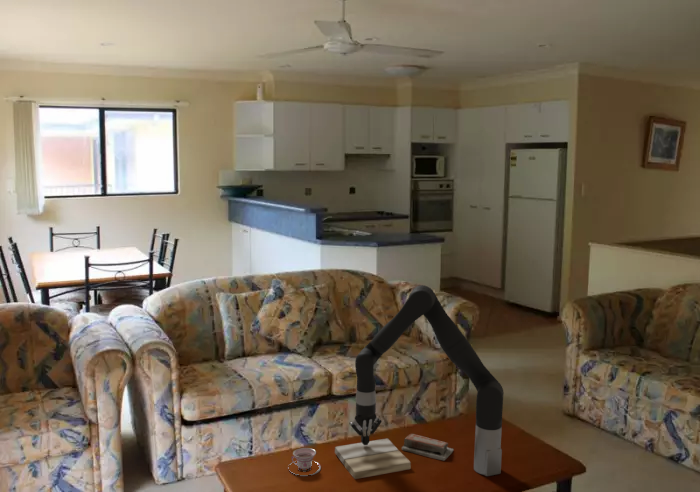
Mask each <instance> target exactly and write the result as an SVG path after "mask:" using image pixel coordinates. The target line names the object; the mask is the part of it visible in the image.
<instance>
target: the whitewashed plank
mask: <svg viewBox="0 0 700 492" xmlns="http://www.w3.org/2000/svg"><path fill="white" fill-rule="evenodd" d="M393 451H399V449H398V448H397V447H396V446H395V444H394V443H393V442H392V441H391V440H390V439H389V438H382V439H381V438H380V439H376V440H369V443H368V445H363V444H362V442H357V443H350V444H345V445H337V446H334V454H335V455H336V456H337V458H338V459H339V460H340V462H341V463H342V464H343V466H345V460H346V459H352V458H358V457H364V456H370V455H376V454H382V453H387V452H393Z"/></svg>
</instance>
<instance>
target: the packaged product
mask: <svg viewBox="0 0 700 492" xmlns="http://www.w3.org/2000/svg"><path fill="white" fill-rule="evenodd" d="M403 442H404V443H403V445H402V446H401V450H402V451H404V452H408V453H412V454H415V455H418V456H419V455H420V456H422V457H426V458H427V457H428V458H431V459H435V460H439V461H444V462H445V461H446V460H447V459H448V458H449V456H450V455H452V454H453V452H454V448H451V447H448V446H449V443H448V442H445V441H441V440H438V439H434V438H429V437H426V436H423V435H418V434H415V433H410V434H408V435H407V436H406V437H405V438H404V441H403Z"/></svg>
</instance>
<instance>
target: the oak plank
mask: <svg viewBox="0 0 700 492" xmlns="http://www.w3.org/2000/svg"><path fill="white" fill-rule="evenodd" d="M411 464H412V463H411V461H410V460H409V458H407V457H406V456H405V455H404V454H403V453H402V452H401V451H400V450H398V451H393V452H387V453H382V454H376V455H370V456H364V457H358V458H352V459H346V460H345V465H344V467H345V469H346V470H347V471H348V473H349V474H350V475H351V476H352V478H353V479H354V480H358V479H362V478H369V477H374V476H381V475H384V474H390V473H396V472H402V471H406V470H411V466H412V465H411Z"/></svg>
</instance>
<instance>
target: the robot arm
mask: <svg viewBox="0 0 700 492" xmlns="http://www.w3.org/2000/svg"><path fill="white" fill-rule="evenodd" d="M422 316H424V318H426V320H427V321H428V323H429V324H430V326H431V328H432V331H433V333H434V335H435V338H436V340H437V342H438V344H439V345H440V348H441V349H442V351H443V352H444V354H445V355H446V356H447V358H448V359H449V360H450V361H451V362H452V363H453V365H455V366H456V367H457V368H458V369H459V370H461V371H462V372H463V373H464V374H465V375H466V376H467V377H468V379H469V380H470V381H471V383H472V385H473V386H474V388H475V389H476V391H477V393H476V403H475V433H474V455H473V471H475V472H476V473H478V474H480V475H483V476H485V477H491V476H494V475H495V476H496V475H500V474H502V473H501V471H502V470H501V469H502V453H503V450H502V448H501V447H502V444H501V443H502V428H503V427H502V425H503V409H504V407H503V405H504V389H503V386H502V384H501V383H500V382H499V381H498V380H497V378H496V377H495V376H494V375H493V374H492V373H491V372H490V370H488V368H487V367H486V366H485V365H484V363H483V362H482V360H481V359H480V356H479V355H478V354H477V352H476V351H475V349H474V348H473V347H472V345H471V344H470V342H469V340H468V339H467V338H466V336H465V335H464V334H463V332H462V331H461V330H460V329H459V327H458V325H456V323H455V322H454V320H453V319H452V317H450V316H449V314H448V313H447V312H446V311H445V309H444V307H443V306H442V304H441V302H440V300H439V299H438V297H437V295H436V293H435V292H434V290H433V289H432V288H431V287H429V286H427V285H423V284H422V285H417V286H415V288H413V290H411V292H410V293H409V295H408V297H407V300H406V301H405V302H404V305H403V306H402V307H401V309H399V311H398V312H397V314H395V316H394V317H393V318H392V319H390V320H389V321H388V322H387V323H386V324H385V325H383V327H381V329H380V330H379V331H378V332H377V333H376V334H375V336H374V337H372V339H371V341H370V342H368V343H367V344H366V345H365V347H364V348H363V349H361V350H360V352H358V354H357V355H356V357H355V362H354V363H355V364H354V365H355V366H354V368H355V374H356V393H355V417H354V420H353V421H350V422H349V426H351V428H352V429H353V430H354V431H355V433H356V434H357V435H358V436H360V443H362V444H363V445H368V443H369V441H370V436H371V435H373V434H375V432H376V431H377V430H378V428H379V427H380V425H381V423H382V419H380V418H379V417H378V416H377V415H376V412H377V410H376V408H377V406H376V405H377V404H376V403H377V393H376V392H377V391H376V377H375V375H374V366H375V364H376V363H377V361H379V360H380V358H381V357H382V356H383V354H385V353H386V352H387V351H389V350H390V349H391V347H393V345H394V344H395V343H396V342H397V341H398V340H399V339H400V337H402V335H403V334H404V333H405V331H406V330H408V328H409V327H410V326H411V325H412V324H414V322H416V321H418V319H419V318H421V317H422ZM357 426H359V428H360V429H359V428H358V427H357Z"/></svg>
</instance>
